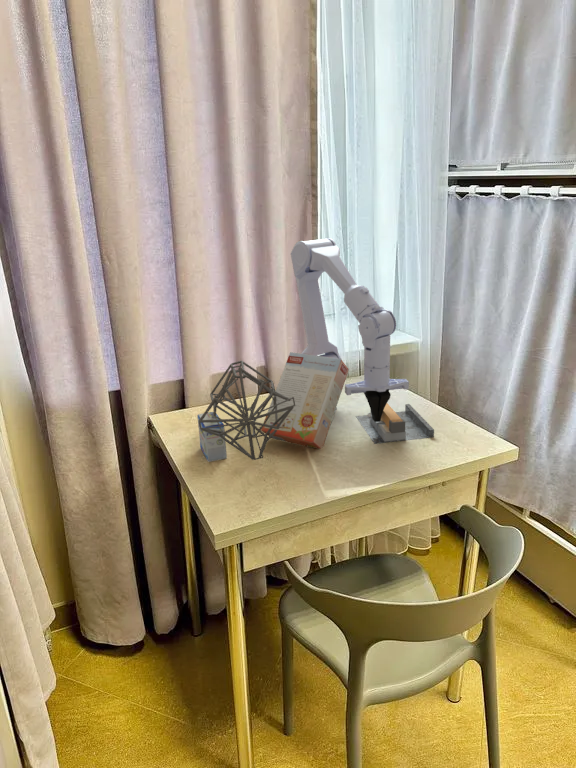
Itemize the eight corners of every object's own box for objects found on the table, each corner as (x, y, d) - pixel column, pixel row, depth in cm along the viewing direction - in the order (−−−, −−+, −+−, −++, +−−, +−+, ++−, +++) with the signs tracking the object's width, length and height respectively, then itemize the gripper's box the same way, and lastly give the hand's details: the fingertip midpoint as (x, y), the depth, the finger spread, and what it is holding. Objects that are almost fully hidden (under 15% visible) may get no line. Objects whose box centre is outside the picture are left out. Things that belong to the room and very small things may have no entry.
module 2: (384, 441, 124) (384, 433, 123) (377, 432, 129) (377, 424, 128) (405, 439, 125) (405, 430, 124) (398, 430, 129) (398, 422, 129)
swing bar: (368, 403, 138) (368, 392, 137) (380, 402, 139) (380, 391, 138) (391, 433, 122) (391, 421, 120) (405, 431, 122) (405, 419, 121)
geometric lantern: (251, 429, 143) (260, 472, 108) (199, 398, 140) (192, 432, 105) (284, 379, 142) (304, 406, 107) (232, 346, 139) (236, 363, 104)
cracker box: (322, 451, 124) (350, 369, 129) (312, 443, 119) (341, 357, 125) (271, 439, 131) (300, 361, 137) (259, 430, 126) (289, 350, 132)
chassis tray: (374, 447, 124) (374, 433, 122) (354, 418, 140) (354, 405, 139) (433, 441, 125) (434, 427, 124) (407, 412, 141) (407, 400, 140)
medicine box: (200, 448, 128) (196, 413, 125) (218, 444, 129) (215, 410, 126) (208, 462, 121) (204, 426, 118) (227, 458, 122) (224, 423, 119)
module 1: (376, 430, 130) (376, 422, 129) (370, 422, 134) (370, 414, 134) (396, 428, 130) (397, 420, 130) (390, 420, 135) (390, 412, 134)
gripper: (350, 373, 119) (350, 430, 124) (414, 367, 121) (412, 423, 125) (342, 363, 125) (343, 417, 130) (403, 358, 127) (401, 411, 132)
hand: (376, 420), depth 128 cm, fingers closed
